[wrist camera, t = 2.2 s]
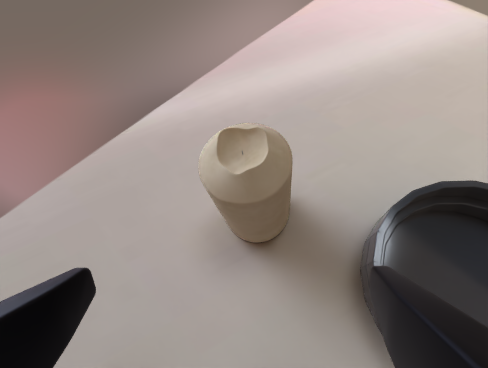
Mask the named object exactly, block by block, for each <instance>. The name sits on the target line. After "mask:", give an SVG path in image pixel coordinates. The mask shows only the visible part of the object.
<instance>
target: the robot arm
mask: <svg viewBox="0 0 488 368" xmlns="http://www.w3.org/2000/svg"><path fill="white" fill-rule="evenodd" d="M369 291H370V297H371V300H372V304H373V307H374V310H375V313H376V316H377V319H378V322H379V325H380V328H381V331H382V335H383V338H384V341H385V344H386V347H387V350H388V352H389V355H390V357H391V359H392V362H393V364H394V366H395V368H488V327H487V326H485V325H484V324H482V323H481V322H479V321H477V320H476V319H474V318H472V317H471V316H469V315H467V314H466V313H464V312H462V311H461V310H459V309H458V308H456V307H454V306H453V305H451V304H449V303H448V302H446V301H444V300H443V299H441V298H439V297H438V296H436V295H435V294H433V293H431V292H430V291H428V290H426V289H425V288H423V287H421V286H420V285H418V284H417V283H415V282H413V281H412V280H410V279H408V278H407V277H405V276H403V275H402V274H400V273H398V272H397V271H395V270H394V269H392V268H390V267H388V266H373V267H372V268H371V275H370V288H369ZM95 293H96V287H95V284H94V281H93V277H92V274H91V271H90V270H89V269H88V268H74V269H72V270H70V271H67V272H65V273H63V274H61V275H58V276H56V277H54V278H52V279H50V280H47V281H45V282H43V283H41V284H38V285H36V286H34V287H32V288H30V289H27V290H25V291H23V292H21V293H18V294H16V295H14V296H12V297H10V298H7V299H5V300H3V301H1V302H0V368H53V367H54V365H55V364H56V362H57V361H58V359H59V358H60V356H61V355H62V353H63V351H64V350H65V348H66V347H67V345H68V343H69V342H70V340H71V338H72V337H73V335H74V333H75V331H76V329H77V328H78V326H79V324H80V322H81V320H82V318H83V316H84V315H85V313H86V311H87V309H88V307H89V305H90V303H91V301H92V300H93V298H94V296H95Z"/></svg>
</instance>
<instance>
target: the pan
mask: <svg viewBox="0 0 488 368" xmlns="http://www.w3.org/2000/svg"><path fill="white" fill-rule="evenodd" d="M373 266H388V267H390V268H392V269H394V270H395V271H397V272H398V273H400V274H402V275H403V276H405V277H407V278H408V279H410V280H412V281H413V282H415V283H417V284H418V285H420V286H421V287H423V288H425V289H426V290H428V291H430V292H431V293H433V294H435V295H436V296H438V297H439V298H441V299H443V300H444V301H446V302H448V303H449V304H451V305H453V306H454V307H456V308H458V309H459V310H461V311H462V312H464V313H466V314H467V315H469V316H471V317H472V318H474V319H476V320H477V321H479V322H481V323H482V324H484V325H485V326H487V327H488V183H483V182H478V181H442V182H438V183H435V184H432V185H428V186H425V187H422V188H419V189H416V190H413V191H411V192H410V193H409V194H408V195H406V196H405V197H404V198H402V199H401V200H400V201H399V202H397V203H396V204H395V205H393V206H392V207H391V208H390V209H389V210H388V211H387V212H386V213H385V214H384V215H383V216H382V217H381V218H380V219H379V220H378V221H377V223H376V224H375V226H374V228H373V229H372V231H371V233H370V234H369V236H368V238H367V239H366V241H365V244H364V249H363V255H362V261H361V267H360V268H361V269H360V272H361V278H362V285H363V291H364V297H365V301H366V303H367V305H368V308H369V310H370V312H371V314H372V316H373V318H374V320H375V323H376V325H377V327H378V329H379V331H380V332H381V334H382V331H381V328H380V325H379V322H378V319H377V316H376V313H375V310H374V307H373V304H372V300H371V297H370V291H369V288H370V275H371V268H372V267H373Z"/></svg>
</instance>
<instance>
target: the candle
mask: <svg viewBox="0 0 488 368" xmlns="http://www.w3.org/2000/svg"><path fill="white" fill-rule="evenodd" d="M198 170H199V176H200V179H201V181H202V183H203V185H204V187H205V188H206V190H207V192H208V193H209V195H210V197H211V198H212V200H213V202H214V203H215V205H216V206H217V208H218V210H219V211H220V213H221V215H222V216H223V218H224V220H225V221H226V223H227V225H228V226H229V228H230V229H231V230H232V232H233V233H234V234H236V235H237V236H238V237H240V238H241V239H243V240H246V241H249V242H265V241H268V240H270V239H272V238H274V237H276V236H277V235H278V234H279V233H280V232H281V231H282V230H283V229H284V227H285V225H286V224H287V221H288V218H289V211H290V195H291V177H292V153H291V149H290V147H289V145H288V143H287V141H286V140H285V139H284V137H283V136H282V135H281V134H280V133H278V132H277V131H276V130H274V129H272V128H270V127H268V126H265V125H262V124H256V123H242V124H236V125H233V126H230V127H227V128H225V129H223V130H221V131H220V132H218V133H217V134H215V135H214V136H213V137H212V138H211V139H210V140H209V141H208V142H207V144H206V145H205V146H204V148H203V150H202V152H201V155H200V158H199V164H198Z"/></svg>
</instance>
